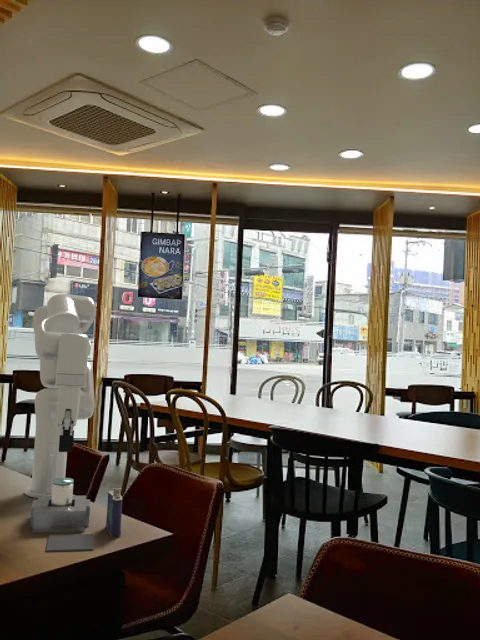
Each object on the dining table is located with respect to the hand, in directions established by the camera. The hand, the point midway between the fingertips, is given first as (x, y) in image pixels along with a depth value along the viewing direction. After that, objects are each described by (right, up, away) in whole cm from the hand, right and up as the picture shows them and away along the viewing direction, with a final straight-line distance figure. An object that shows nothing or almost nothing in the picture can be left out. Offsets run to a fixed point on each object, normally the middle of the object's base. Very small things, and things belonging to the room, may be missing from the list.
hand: (66, 448), depth 142 cm
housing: (-1, -19, -1) cm, 19 cm away
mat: (+5, -18, -14) cm, 24 cm away
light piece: (-1, -19, -1) cm, 19 cm away
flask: (+13, -20, -5) cm, 24 cm away
